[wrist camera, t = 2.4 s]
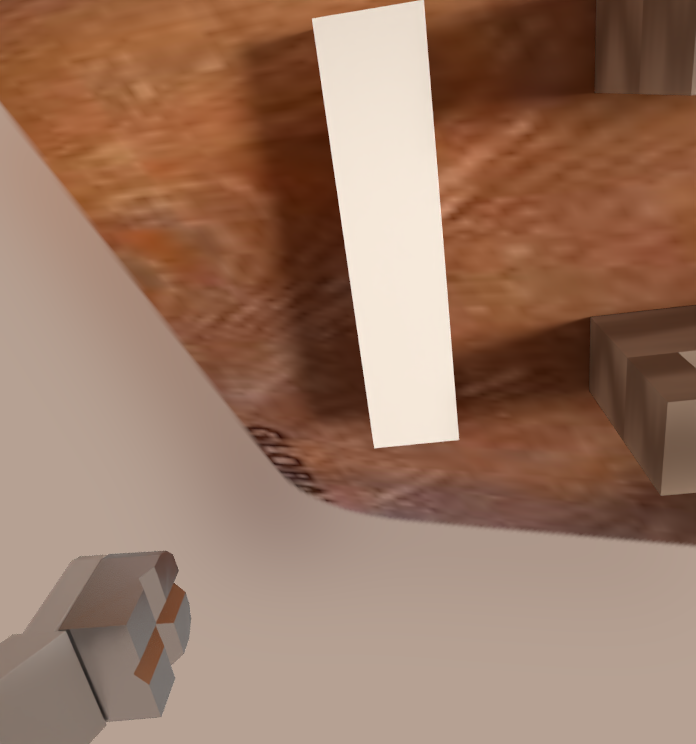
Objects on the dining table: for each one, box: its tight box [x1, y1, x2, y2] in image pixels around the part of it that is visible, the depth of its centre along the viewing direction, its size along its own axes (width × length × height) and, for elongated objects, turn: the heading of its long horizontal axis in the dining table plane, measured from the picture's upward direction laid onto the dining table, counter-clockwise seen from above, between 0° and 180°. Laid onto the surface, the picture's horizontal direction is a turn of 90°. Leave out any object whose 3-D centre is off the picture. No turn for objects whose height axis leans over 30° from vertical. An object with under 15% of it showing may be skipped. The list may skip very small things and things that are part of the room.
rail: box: [312, 0, 459, 448], centre depth 28 cm, size 18×4×4 cm, turn 8°
